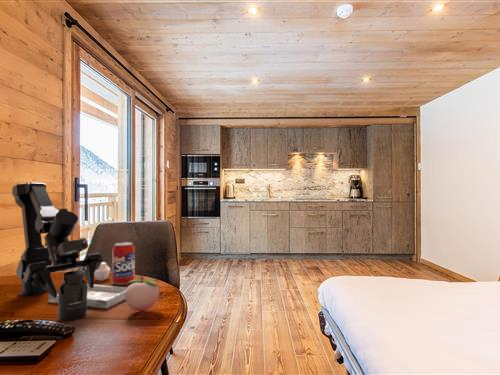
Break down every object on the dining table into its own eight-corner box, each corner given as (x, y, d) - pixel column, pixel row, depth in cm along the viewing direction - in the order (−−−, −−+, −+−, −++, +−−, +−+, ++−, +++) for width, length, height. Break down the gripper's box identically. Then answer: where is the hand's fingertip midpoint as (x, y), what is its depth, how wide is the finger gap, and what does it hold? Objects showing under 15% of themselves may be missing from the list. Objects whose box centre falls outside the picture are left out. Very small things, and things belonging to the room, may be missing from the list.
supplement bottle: (73, 322, 76) (74, 276, 77) (51, 320, 78) (52, 275, 78) (92, 312, 83) (93, 269, 83) (72, 310, 84) (72, 269, 85)
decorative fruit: (118, 318, 78) (118, 281, 79) (131, 307, 87) (131, 273, 87) (153, 318, 78) (153, 281, 79) (162, 306, 87) (162, 273, 87)
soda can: (127, 278, 117) (127, 241, 117) (138, 282, 112) (138, 243, 113) (108, 283, 111) (108, 244, 111) (119, 287, 106) (119, 245, 106)
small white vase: (111, 280, 116) (111, 262, 116) (93, 282, 112) (93, 264, 113) (109, 276, 121) (109, 259, 121) (92, 278, 118) (92, 261, 118)
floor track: (48, 302, 92) (48, 294, 92) (81, 289, 103) (81, 283, 104) (106, 308, 86) (106, 300, 86) (134, 294, 97) (134, 288, 98)
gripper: (28, 233, 76) (42, 282, 69) (100, 226, 91) (118, 267, 84) (18, 259, 81) (31, 308, 74) (89, 249, 96) (105, 289, 88)
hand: (74, 292), depth 80 cm, fingers open, 9 cm apart
